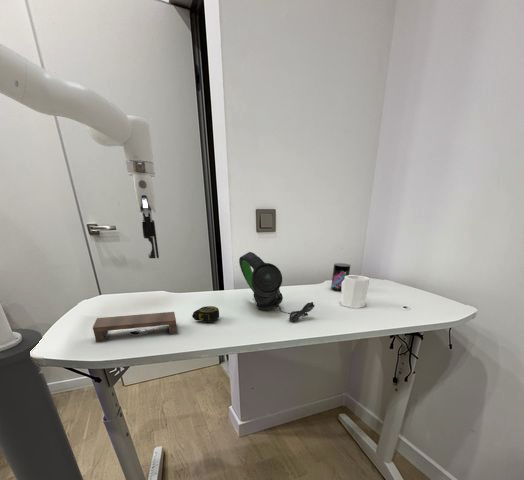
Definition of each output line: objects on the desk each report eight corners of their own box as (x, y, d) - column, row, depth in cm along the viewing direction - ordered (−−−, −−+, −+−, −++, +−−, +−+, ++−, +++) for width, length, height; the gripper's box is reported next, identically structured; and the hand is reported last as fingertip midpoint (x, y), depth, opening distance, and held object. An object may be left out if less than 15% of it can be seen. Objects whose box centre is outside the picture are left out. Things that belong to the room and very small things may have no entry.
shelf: (96, 342, 74) (92, 327, 72) (100, 331, 80) (96, 317, 78) (177, 333, 80) (175, 320, 78) (175, 324, 85) (174, 311, 84)
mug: (369, 306, 105) (374, 279, 100) (348, 308, 102) (353, 281, 98) (349, 297, 115) (354, 272, 110) (330, 298, 112) (334, 273, 108)
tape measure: (205, 315, 93) (204, 303, 91) (223, 318, 91) (223, 307, 89) (192, 322, 87) (191, 310, 86) (211, 326, 85) (210, 314, 83)
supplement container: (327, 288, 126) (330, 263, 121) (340, 287, 128) (344, 262, 124) (336, 292, 120) (340, 266, 116) (349, 291, 123) (354, 265, 118)
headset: (282, 341, 97) (236, 284, 108) (314, 320, 99) (267, 266, 110) (280, 314, 80) (227, 250, 91) (319, 289, 82) (263, 229, 93)
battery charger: (146, 255, 99) (141, 219, 93) (158, 255, 100) (153, 219, 95) (146, 259, 93) (140, 220, 88) (159, 259, 94) (154, 220, 89)
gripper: (154, 168, 79) (162, 237, 87) (154, 172, 93) (161, 232, 102) (124, 166, 77) (135, 238, 85) (129, 171, 91) (138, 232, 99)
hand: (149, 234), depth 93 cm, fingers closed on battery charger, 7 cm apart
